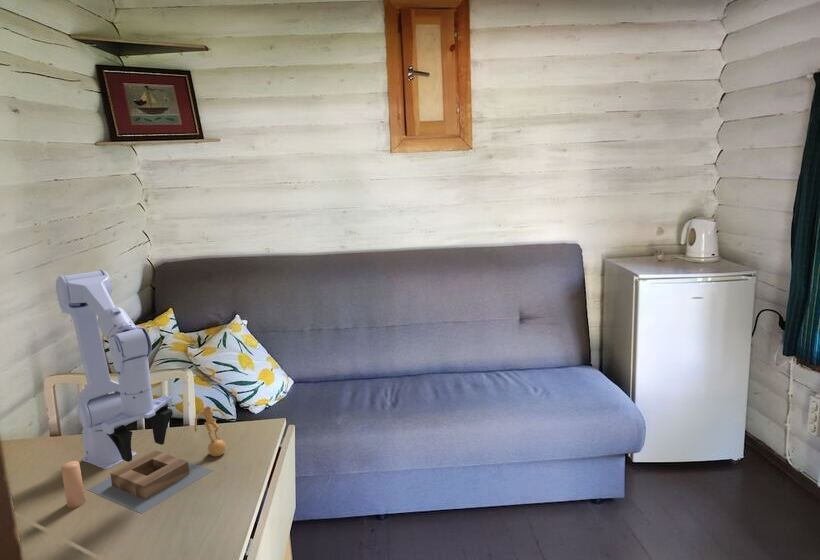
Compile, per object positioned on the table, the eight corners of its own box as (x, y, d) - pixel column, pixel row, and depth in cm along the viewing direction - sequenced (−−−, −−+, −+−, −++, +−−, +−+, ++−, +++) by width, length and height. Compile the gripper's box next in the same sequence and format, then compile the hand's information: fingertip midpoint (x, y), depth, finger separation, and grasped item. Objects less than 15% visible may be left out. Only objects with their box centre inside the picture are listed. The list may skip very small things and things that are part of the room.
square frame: (112, 485, 127) (110, 472, 126) (156, 461, 136) (155, 449, 135) (145, 499, 121) (143, 486, 121) (189, 474, 131) (188, 461, 130)
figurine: (206, 465, 135) (200, 416, 132) (192, 457, 139) (186, 409, 136) (237, 451, 141) (233, 404, 138) (223, 443, 145) (219, 397, 142)
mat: (86, 491, 126) (86, 489, 126) (159, 453, 141) (159, 451, 141) (141, 515, 117) (141, 513, 117) (213, 472, 132) (213, 470, 132)
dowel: (64, 507, 120) (57, 466, 118) (79, 499, 123) (73, 459, 121) (73, 511, 119) (67, 470, 117) (89, 503, 121) (82, 463, 119)
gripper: (115, 406, 110) (124, 473, 113) (179, 379, 123) (186, 440, 126) (91, 399, 114) (101, 464, 117) (156, 374, 126) (163, 433, 129)
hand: (143, 451), depth 121 cm, fingers open, 7 cm apart
